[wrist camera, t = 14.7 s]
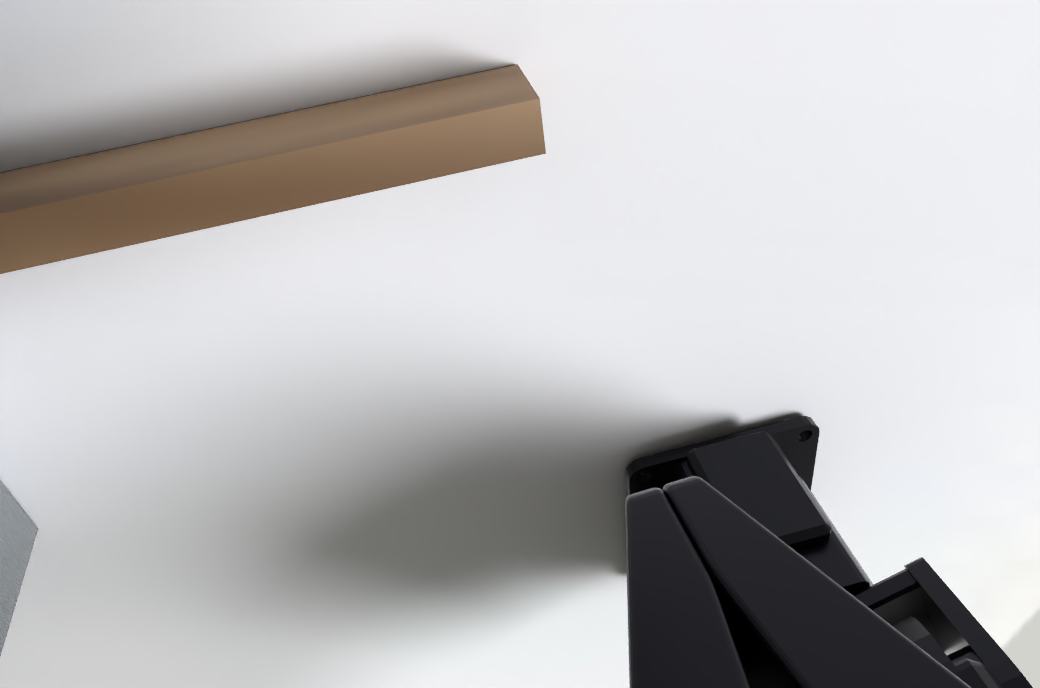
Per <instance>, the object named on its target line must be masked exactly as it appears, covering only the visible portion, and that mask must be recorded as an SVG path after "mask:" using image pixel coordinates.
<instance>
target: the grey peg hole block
mask: <svg viewBox="0 0 1040 688" xmlns="http://www.w3.org/2000/svg"><path fill="white" fill-rule="evenodd" d="M37 531H38V528H37V527H36V525H35V524H34V523H33V522H32V520H31V519H30V518H29V517H28V515H27V514H26V513H25V511H24V510H23V509H22V508H21V506H20V505H19V504H18V503H17V501H16V500H15V499H14V497H13V496H12V495H11V494H10V492H9V491H8V490H7V489H6V487H5V486H4V485H3V484H2V482H1V481H0V656H1V652H2V649H3V646H4V642H5V639H6V636H7V632H8V629H9V625H10V622H11V619H12V615H13V612H14V609H15V605H16V602H17V598H18V595H19V592H20V588H21V585H22V582H23V578H24V575H25V571H26V568H27V565H28V561H29V558H30V555H31V551H32V548H33V544H34V541H35V538H36V534H37Z"/></svg>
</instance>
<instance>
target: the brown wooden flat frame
mask: <svg viewBox="0 0 1040 688" xmlns="http://www.w3.org/2000/svg"><path fill="white" fill-rule="evenodd" d="M545 153H546V151H545V143H544V134H543V125H542V117H541V108H540V99H539V97H538V95H537V94H536V92H535V91H534V89H533V88H532V86H531V85H530V83H529V81H528V80H527V78H526V77H525V75H524V74H523V72H522V71H521V69H520V68H519V66H518V65H512V66H507V67H503V68H498V69H493V70H488V71H483V72H479V73H474V74H469V75H464V76H460V77H455V78H450V79H445V80H441V81H436V82H431V83H426V84H422V85H417V86H412V87H407V88H402V89H398V90H393V91H388V92H383V93H379V94H374V95H369V96H364V97H360V98H355V99H350V100H345V101H340V102H336V103H331V104H326V105H321V106H317V107H312V108H307V109H302V110H298V111H293V112H288V113H283V114H278V115H274V116H269V117H264V118H259V119H255V120H250V121H245V122H240V123H236V124H231V125H226V126H221V127H217V128H212V129H207V130H202V131H197V132H193V133H188V134H183V135H178V136H174V137H169V138H164V139H159V140H155V141H150V142H145V143H140V144H135V145H131V146H126V147H121V148H116V149H112V150H107V151H102V152H97V153H93V154H88V155H83V156H78V157H74V158H69V159H64V160H59V161H54V162H50V163H45V164H40V165H35V166H31V167H26V168H21V169H16V170H12V171H7V172H2V173H0V274H2V273H7V272H12V271H16V270H21V269H25V268H30V267H34V266H39V265H43V264H48V263H52V262H57V261H61V260H66V259H70V258H75V257H79V256H84V255H88V254H93V253H97V252H102V251H106V250H111V249H116V248H120V247H125V246H129V245H134V244H138V243H143V242H147V241H152V240H156V239H161V238H165V237H170V236H174V235H179V234H183V233H188V232H192V231H197V230H201V229H206V228H211V227H215V226H220V225H224V224H229V223H233V222H238V221H242V220H247V219H251V218H256V217H260V216H265V215H269V214H274V213H278V212H283V211H287V210H292V209H296V208H301V207H305V206H310V205H315V204H319V203H324V202H328V201H333V200H337V199H342V198H346V197H351V196H355V195H360V194H364V193H369V192H373V191H378V190H382V189H387V188H391V187H396V186H400V185H405V184H410V183H414V182H419V181H423V180H428V179H432V178H437V177H441V176H446V175H450V174H455V173H459V172H464V171H468V170H473V169H477V168H482V167H486V166H491V165H495V164H500V163H504V162H509V161H514V160H518V159H523V158H527V157H532V156H536V155H541V154H545Z"/></svg>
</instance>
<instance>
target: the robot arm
mask: <svg viewBox="0 0 1040 688" xmlns="http://www.w3.org/2000/svg"><path fill="white" fill-rule="evenodd" d="M818 438H819V428H818V426H817V425H816V424H815V422H814V421H813V420H812V419H811V418H810V417H807V416H803V417H798V418H794V419H790V420H786V421H782V422H778V423H775V424H771V425H767V426H763V427H759V428H755V429H752V430H748V431H744V432H740V433H736V434H732V435H729V436H725V437H721V438H717V439H713V440H709V441H706V442H702V443H698V444H694V445H690V446H686V447H682V448H679V449H675V450H671V451H667V452H663V453H659V454H656V455H652V456H648V457H644V458H640V459H637V460H635V461H633V462H632V463H630V464H629V465H628V467H627V468H626V471H625V479H626V494H627V498H626V501H625V517H626V557H627V598H628V638H629V679H630V688H1033V687H1032V686H1031V685H1030V683H1029V682H1028V681H1027V680H1026V678H1025V677H1024V676H1023V674H1022V673H1021V672H1020V671H1019V669H1018V668H1017V667H1016V666H1015V664H1014V663H1013V662H1012V661H1011V660H1010V658H1009V657H1008V656H1007V655H1006V654H1005V653H1004V651H1003V650H1002V649H1001V648H1000V647H999V646H998V644H997V643H996V642H995V641H994V640H993V639H992V637H991V636H990V635H989V634H988V633H987V632H986V631H985V629H984V628H983V627H982V626H981V625H980V624H979V622H978V621H977V620H976V619H975V618H974V617H973V615H972V614H971V613H970V612H969V611H968V610H967V608H966V607H965V606H964V605H963V604H962V603H961V601H960V600H959V599H958V598H957V597H956V596H955V594H954V593H953V592H952V591H951V590H950V589H949V587H948V586H947V585H946V584H945V583H944V582H943V581H942V579H941V578H940V577H939V576H938V575H937V574H936V572H935V571H934V570H933V569H932V568H931V567H930V565H929V564H928V563H927V562H926V561H925V560H924V559H923V558H922V557H921V558H919V559H917V560H915V561H913V562H911V563H909V564H907V565H905V566H904V567H905V569H904V570H902V571H900V572H898V573H896V574H894V575H892V576H890V577H888V578H886V579H884V580H882V581H880V582H878V583H876V584H874V585H873V584H872V582H871V581H870V579H869V578H868V576H867V575H866V573H865V572H864V570H863V569H862V567H861V566H860V564H859V563H858V561H857V560H856V558H855V557H854V555H853V554H852V552H851V551H850V549H849V548H848V546H847V545H846V543H845V542H844V540H843V539H842V537H841V536H840V534H839V533H838V531H837V530H836V528H835V527H834V525H833V524H832V522H831V521H830V519H829V518H828V516H827V515H826V513H825V512H824V510H823V509H822V507H821V506H820V504H819V503H818V501H817V500H816V498H815V497H814V495H813V494H812V492H811V485H812V478H813V471H814V465H815V458H816V451H817V445H818ZM642 473H643V474H642Z"/></svg>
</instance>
